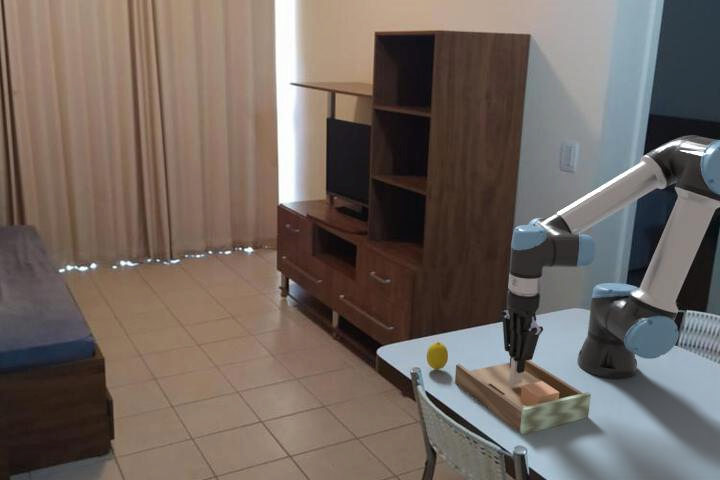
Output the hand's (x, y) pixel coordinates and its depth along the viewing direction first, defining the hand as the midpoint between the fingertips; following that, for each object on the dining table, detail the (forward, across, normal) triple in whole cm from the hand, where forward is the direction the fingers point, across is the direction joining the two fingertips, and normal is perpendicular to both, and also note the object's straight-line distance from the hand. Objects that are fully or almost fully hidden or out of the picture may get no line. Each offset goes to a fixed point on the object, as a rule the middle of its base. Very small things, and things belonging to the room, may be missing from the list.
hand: (515, 382), depth 173 cm
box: (+4, +1, 0) cm, 4 cm away
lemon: (+4, -20, -10) cm, 22 cm away
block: (+1, +9, -1) cm, 10 cm away
